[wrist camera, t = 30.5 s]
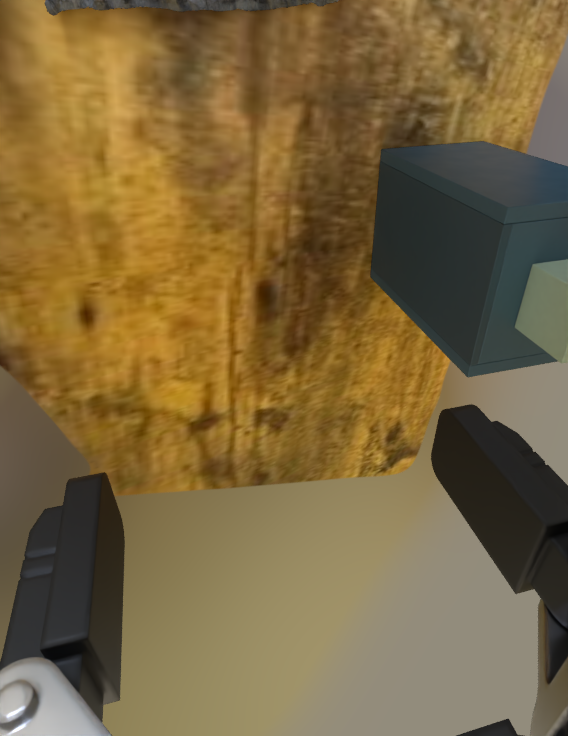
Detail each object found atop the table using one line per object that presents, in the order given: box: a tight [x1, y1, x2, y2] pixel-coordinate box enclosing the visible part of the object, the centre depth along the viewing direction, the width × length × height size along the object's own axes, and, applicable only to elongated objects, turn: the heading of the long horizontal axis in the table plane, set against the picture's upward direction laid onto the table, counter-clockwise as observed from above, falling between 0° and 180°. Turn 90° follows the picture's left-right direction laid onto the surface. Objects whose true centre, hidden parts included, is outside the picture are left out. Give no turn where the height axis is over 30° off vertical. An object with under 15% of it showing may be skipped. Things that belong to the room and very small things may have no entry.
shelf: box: [370, 141, 568, 377], centre depth 39 cm, size 18×12×15 cm
